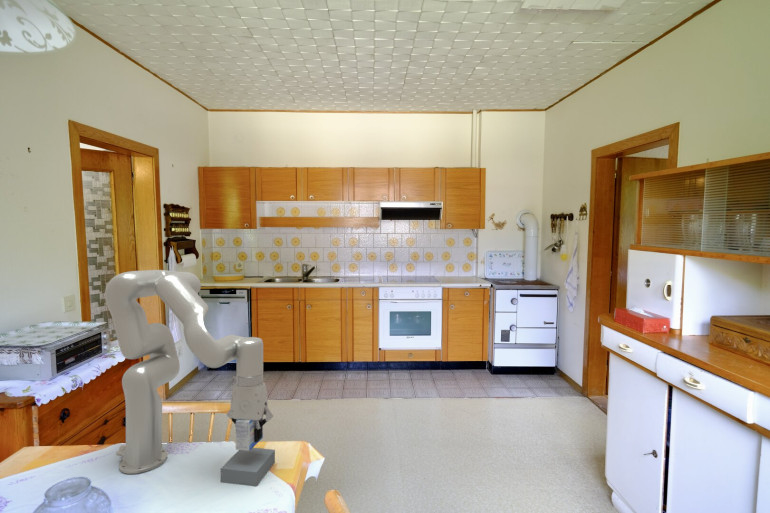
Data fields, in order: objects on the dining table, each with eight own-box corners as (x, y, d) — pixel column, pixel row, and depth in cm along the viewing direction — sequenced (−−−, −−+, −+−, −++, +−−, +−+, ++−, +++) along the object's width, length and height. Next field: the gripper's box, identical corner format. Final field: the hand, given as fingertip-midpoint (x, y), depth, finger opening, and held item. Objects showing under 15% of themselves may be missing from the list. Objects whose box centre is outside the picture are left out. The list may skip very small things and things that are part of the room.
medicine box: (248, 451, 106) (249, 422, 106) (235, 450, 107) (235, 420, 107) (263, 438, 114) (263, 410, 114) (250, 436, 115) (250, 409, 115)
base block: (220, 482, 106) (220, 468, 106) (242, 458, 118) (242, 446, 117) (256, 486, 104) (256, 472, 104) (274, 462, 116) (275, 449, 116)
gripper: (216, 382, 108) (216, 443, 108) (270, 385, 105) (270, 448, 106) (230, 373, 115) (230, 431, 116) (281, 376, 113) (281, 435, 113)
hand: (249, 438), depth 111 cm, fingers closed on medicine box, 4 cm apart
